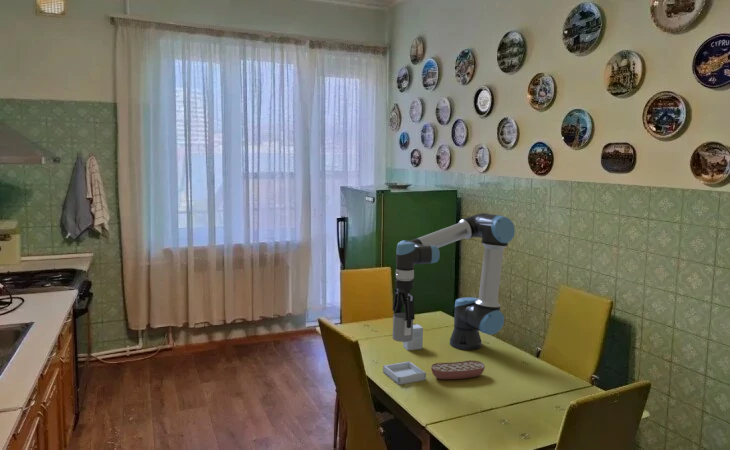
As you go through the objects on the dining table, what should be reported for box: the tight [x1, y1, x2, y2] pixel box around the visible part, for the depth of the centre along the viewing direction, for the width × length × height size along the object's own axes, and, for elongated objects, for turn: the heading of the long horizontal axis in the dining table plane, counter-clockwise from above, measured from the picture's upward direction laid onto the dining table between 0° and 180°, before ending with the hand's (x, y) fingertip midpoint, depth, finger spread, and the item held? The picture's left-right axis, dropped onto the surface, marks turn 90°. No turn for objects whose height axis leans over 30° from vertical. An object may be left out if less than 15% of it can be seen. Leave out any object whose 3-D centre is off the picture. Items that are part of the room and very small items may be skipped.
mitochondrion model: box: [430, 359, 486, 380], centre depth 227 cm, size 23×10×5 cm, turn 104°
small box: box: [402, 324, 424, 351], centre depth 260 cm, size 8×6×10 cm
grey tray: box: [382, 360, 427, 386], centre depth 227 cm, size 13×14×3 cm
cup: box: [392, 312, 414, 343], centre depth 231 cm, size 8×8×10 cm
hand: (402, 331), depth 232 cm, fingers closed on cup, 8 cm apart
